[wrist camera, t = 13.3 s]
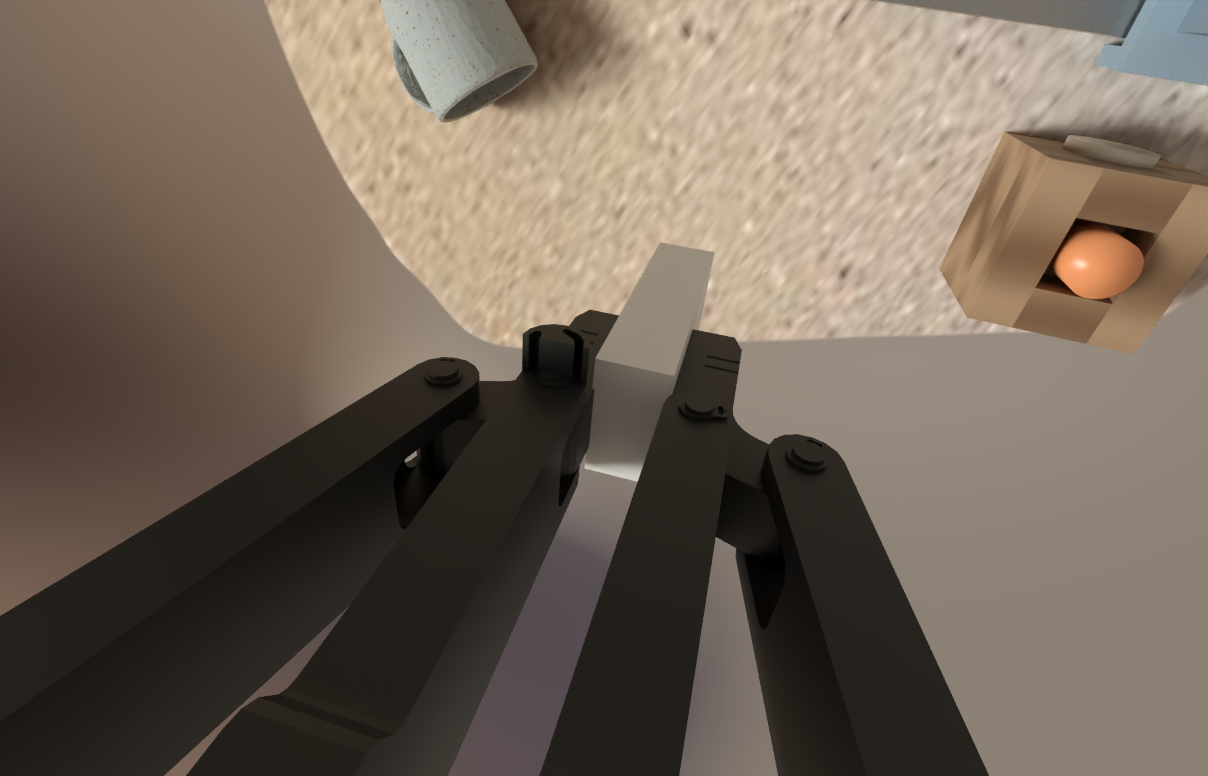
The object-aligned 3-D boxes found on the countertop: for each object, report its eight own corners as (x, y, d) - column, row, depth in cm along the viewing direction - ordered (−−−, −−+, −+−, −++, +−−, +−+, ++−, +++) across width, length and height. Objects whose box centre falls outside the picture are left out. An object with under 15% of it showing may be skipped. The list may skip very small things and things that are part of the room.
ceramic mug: (488, -67, 38) (426, -81, 32) (555, 59, 41) (510, 69, 35) (381, 32, 43) (310, 36, 37) (448, 138, 46) (392, 159, 40)
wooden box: (1009, 121, 36) (1057, 146, 30) (1172, 149, 35) (1260, 181, 28) (939, 269, 41) (967, 317, 35) (1078, 298, 40) (1133, 354, 34)
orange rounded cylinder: (1065, 216, 33) (1089, 234, 30) (1128, 228, 32) (1158, 247, 30) (1034, 270, 35) (1054, 291, 32) (1094, 282, 34) (1119, 305, 31)
